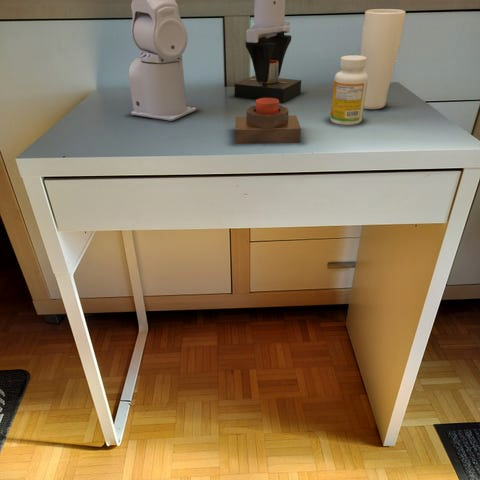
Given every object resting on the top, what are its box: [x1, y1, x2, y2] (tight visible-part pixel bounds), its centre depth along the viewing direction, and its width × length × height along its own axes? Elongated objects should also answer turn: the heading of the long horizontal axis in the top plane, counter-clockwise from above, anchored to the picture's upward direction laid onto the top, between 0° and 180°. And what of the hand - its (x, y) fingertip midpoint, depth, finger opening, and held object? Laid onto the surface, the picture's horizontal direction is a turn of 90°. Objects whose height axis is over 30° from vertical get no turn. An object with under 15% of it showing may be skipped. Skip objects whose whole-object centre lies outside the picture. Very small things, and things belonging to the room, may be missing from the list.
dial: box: [259, 60, 279, 84], centre depth 91 cm, size 4×4×4 cm
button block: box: [234, 104, 302, 145], centre depth 72 cm, size 10×7×4 cm
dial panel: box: [234, 75, 302, 104], centre depth 93 cm, size 11×8×3 cm
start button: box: [255, 98, 280, 114], centre depth 70 cm, size 4×4×2 cm
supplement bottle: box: [330, 54, 368, 126], centre depth 76 cm, size 5×5×10 cm
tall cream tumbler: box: [359, 8, 407, 110], centre depth 81 cm, size 7×7×15 cm
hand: (268, 79), depth 92 cm, fingers open, 5 cm apart
